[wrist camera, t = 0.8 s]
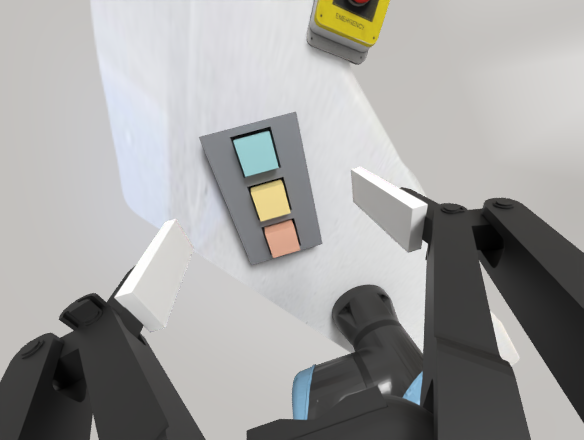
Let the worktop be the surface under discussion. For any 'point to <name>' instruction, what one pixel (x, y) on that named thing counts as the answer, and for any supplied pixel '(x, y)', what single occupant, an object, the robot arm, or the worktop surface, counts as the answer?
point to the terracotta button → (282, 238)
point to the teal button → (256, 153)
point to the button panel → (290, 169)
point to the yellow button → (270, 200)
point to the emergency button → (346, 26)
